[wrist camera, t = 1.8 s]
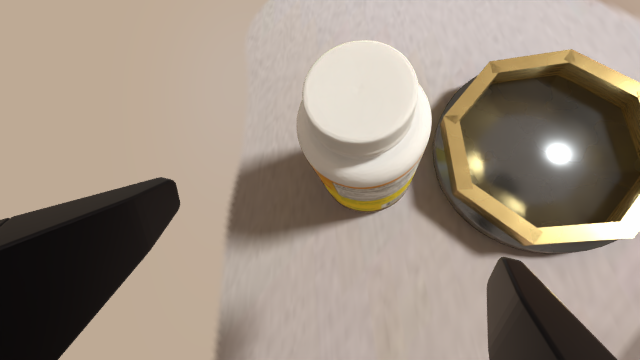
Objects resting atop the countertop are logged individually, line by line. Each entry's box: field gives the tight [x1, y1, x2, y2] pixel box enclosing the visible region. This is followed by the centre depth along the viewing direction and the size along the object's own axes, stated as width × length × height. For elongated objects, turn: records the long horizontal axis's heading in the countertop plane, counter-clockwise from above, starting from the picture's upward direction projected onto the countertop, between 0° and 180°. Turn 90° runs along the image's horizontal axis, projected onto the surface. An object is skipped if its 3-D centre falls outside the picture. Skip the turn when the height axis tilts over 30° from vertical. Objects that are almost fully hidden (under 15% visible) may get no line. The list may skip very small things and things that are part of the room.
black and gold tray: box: [433, 49, 640, 253], centre depth 18 cm, size 12×12×2 cm
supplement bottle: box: [297, 40, 432, 212], centre depth 15 cm, size 6×6×10 cm
